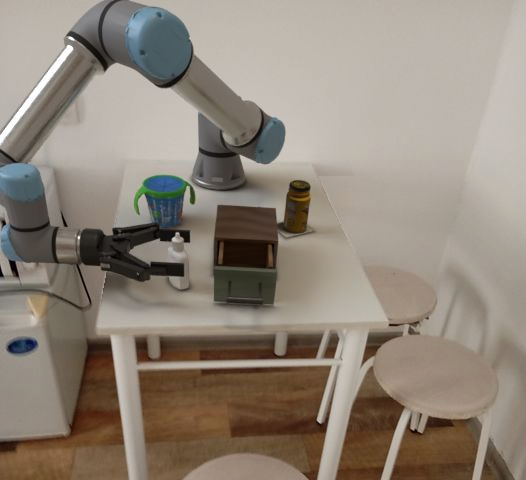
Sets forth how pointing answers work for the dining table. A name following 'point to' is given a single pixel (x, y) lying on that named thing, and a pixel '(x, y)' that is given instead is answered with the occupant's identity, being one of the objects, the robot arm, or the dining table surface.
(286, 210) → the condiment
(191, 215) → the dining table surface
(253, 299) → the drawer
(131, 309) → the dining table surface
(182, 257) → the eye dropper bottle
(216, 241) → the cabinet
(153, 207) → the snack cup
